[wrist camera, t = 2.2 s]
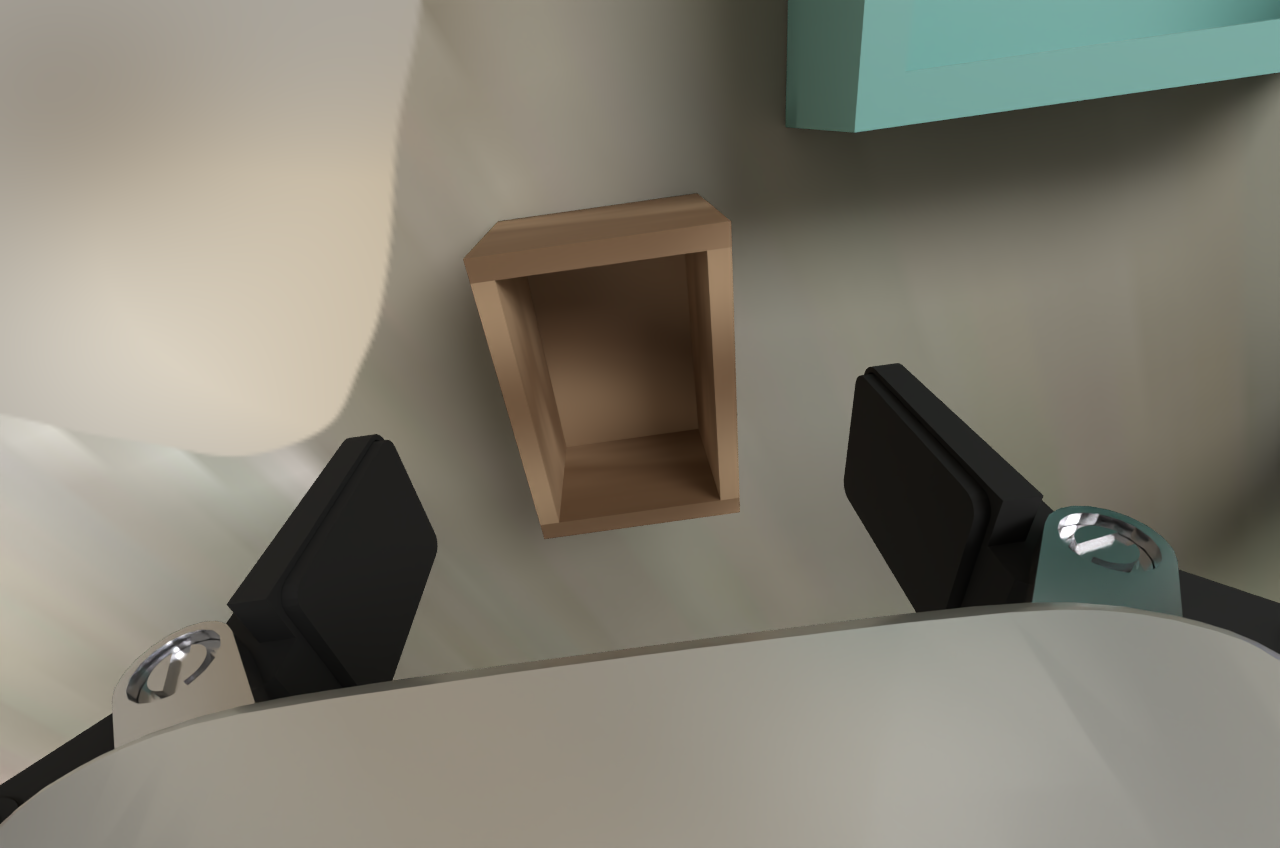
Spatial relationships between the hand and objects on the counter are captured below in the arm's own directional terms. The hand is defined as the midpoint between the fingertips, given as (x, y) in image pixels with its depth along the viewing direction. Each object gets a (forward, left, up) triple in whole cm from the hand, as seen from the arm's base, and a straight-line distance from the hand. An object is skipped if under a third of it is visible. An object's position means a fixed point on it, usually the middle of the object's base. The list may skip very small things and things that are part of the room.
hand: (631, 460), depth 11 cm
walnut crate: (-1, 0, -9) cm, 9 cm away
